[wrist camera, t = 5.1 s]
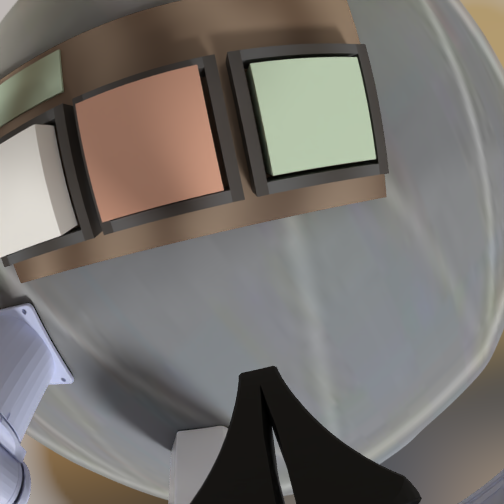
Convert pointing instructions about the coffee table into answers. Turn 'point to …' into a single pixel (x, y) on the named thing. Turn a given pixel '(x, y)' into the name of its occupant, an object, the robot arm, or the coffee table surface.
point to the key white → (32, 190)
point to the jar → (193, 461)
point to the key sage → (310, 113)
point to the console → (218, 109)
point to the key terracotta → (149, 143)
